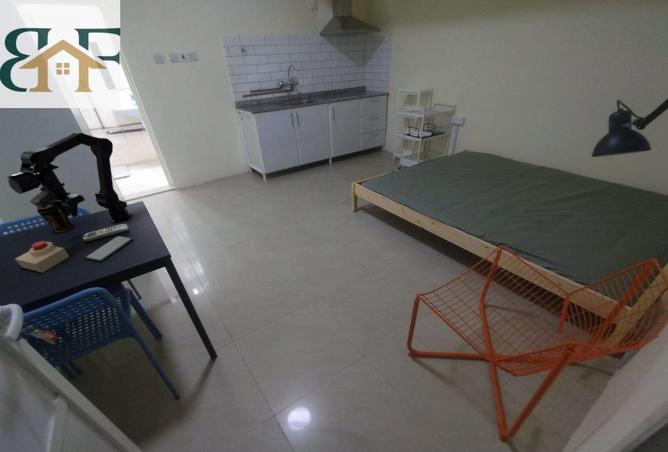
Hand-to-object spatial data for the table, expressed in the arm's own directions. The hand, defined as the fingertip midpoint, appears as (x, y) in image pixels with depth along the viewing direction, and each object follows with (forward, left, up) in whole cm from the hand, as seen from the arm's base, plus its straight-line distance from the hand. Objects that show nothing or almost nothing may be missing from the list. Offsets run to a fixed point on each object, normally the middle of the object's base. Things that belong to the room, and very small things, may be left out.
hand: (72, 216), depth 119 cm
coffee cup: (+15, -15, -12) cm, 24 cm away
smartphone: (-13, +13, -12) cm, 22 cm away
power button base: (+10, +14, -12) cm, 20 cm away
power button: (+9, +12, -6) cm, 16 cm away
